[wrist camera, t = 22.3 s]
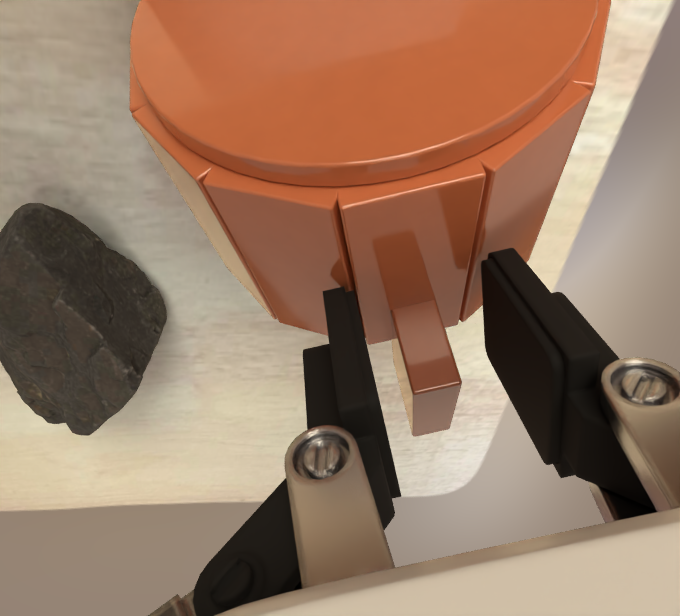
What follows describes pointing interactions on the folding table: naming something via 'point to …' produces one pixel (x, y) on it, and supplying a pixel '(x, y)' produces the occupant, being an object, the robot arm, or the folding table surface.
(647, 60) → the folding table surface
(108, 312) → the rock
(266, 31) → the orange stave bucket
